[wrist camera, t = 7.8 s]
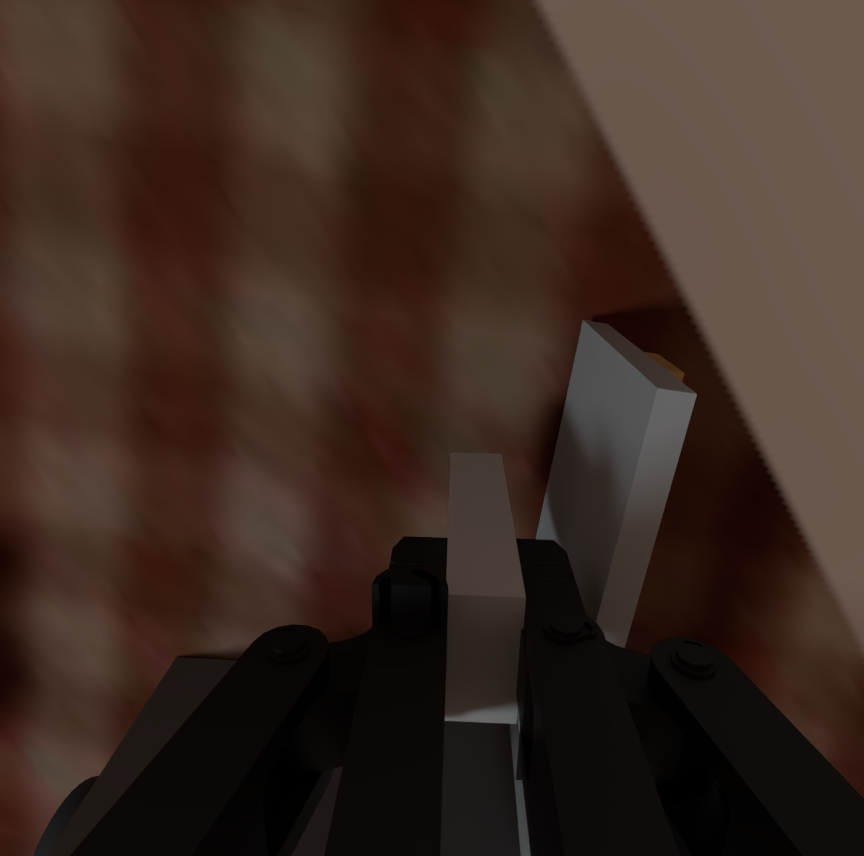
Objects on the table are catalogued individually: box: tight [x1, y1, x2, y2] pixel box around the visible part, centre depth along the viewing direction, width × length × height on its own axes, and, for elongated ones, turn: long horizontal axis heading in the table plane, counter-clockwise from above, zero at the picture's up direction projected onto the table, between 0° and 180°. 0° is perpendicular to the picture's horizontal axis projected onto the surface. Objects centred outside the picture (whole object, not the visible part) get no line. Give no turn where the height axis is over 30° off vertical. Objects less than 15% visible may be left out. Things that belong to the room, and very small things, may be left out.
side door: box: [510, 320, 697, 856], centre depth 17 cm, size 12×2×8 cm, turn 172°
